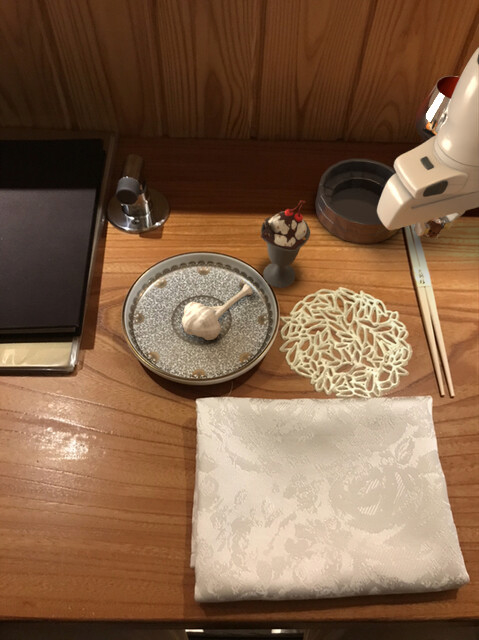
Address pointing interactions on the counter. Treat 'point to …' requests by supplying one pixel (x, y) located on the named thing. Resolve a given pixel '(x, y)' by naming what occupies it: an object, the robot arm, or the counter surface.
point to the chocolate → (434, 228)
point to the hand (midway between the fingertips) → (431, 228)
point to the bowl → (354, 200)
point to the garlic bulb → (208, 316)
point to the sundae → (283, 245)
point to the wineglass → (435, 107)
